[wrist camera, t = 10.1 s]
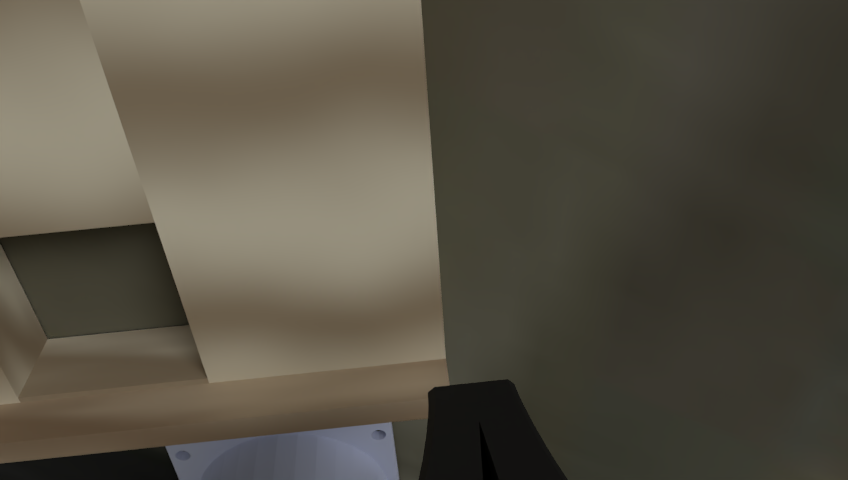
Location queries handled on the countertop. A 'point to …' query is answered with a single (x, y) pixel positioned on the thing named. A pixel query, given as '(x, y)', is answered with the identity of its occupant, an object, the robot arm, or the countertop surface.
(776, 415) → the countertop surface
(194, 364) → the mottled shallow tray
